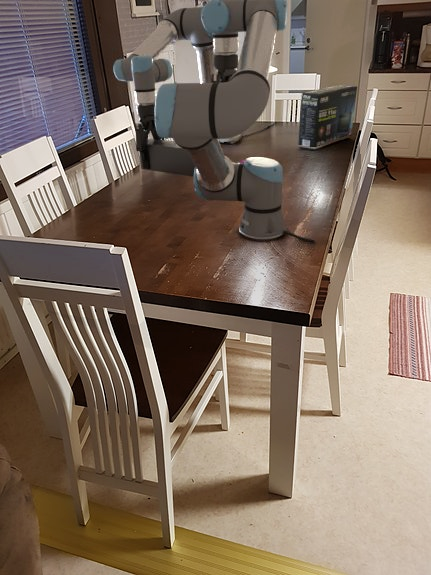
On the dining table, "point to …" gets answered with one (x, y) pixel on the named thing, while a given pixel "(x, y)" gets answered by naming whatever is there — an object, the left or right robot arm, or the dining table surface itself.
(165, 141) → the box
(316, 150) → the dining table surface
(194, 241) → the dining table surface
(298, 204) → the dining table surface
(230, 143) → the fossil
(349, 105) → the router box
